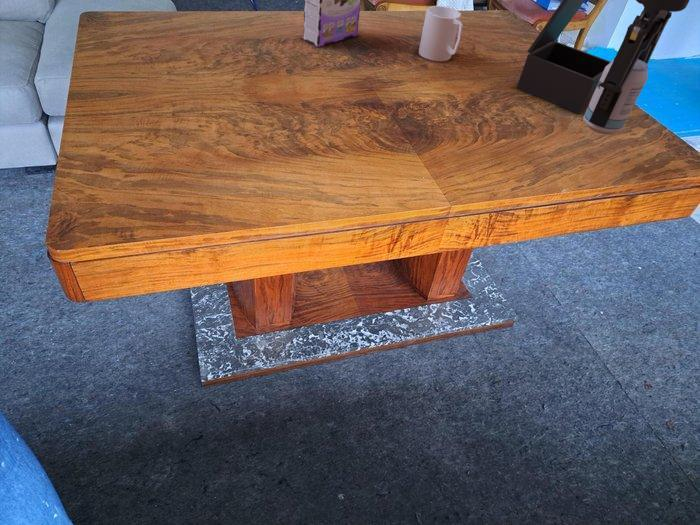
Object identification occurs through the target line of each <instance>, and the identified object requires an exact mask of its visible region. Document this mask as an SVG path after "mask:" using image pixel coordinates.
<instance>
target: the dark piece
mask: <svg viewBox="0 0 700 525" xmlns="http://www.w3.org/2000/svg"><path fill="white" fill-rule="evenodd" d="M610 62H612V60H611V61H610V60H608V59H605V58H602V57H601V56H597V55H594V54H591V53H589V52H586V51H583V50H581V49H577V48H575V47H572V46H570V45H567V44H564V43H561V42H559V41H557V40H555V41H553V42H551V43H549V44H547V45H545V46H543V47H542V48H540V49H538V50H536V51H534V52H532V53H529V54H527V56H526V59H525V62H524V65H523V68H522V71H521V73H520V77H519V80H518V82H517V85H516V89H518V90H520V91H523V92H525V93H528V94H529V95H532V96H535V97H537V98H539V99H542V100H544V101H546V102H548V103H551V104H554V105H555V106H557V107H560V108H562V109H564V110H567V111H570V112H571V113H575V114H577V115H581V114H582V113H584V111H586V110H587V108H588V105H589V103H590V101H591V99H592V96H593V94H594V92H595V89H596V87H597V85H598V83H599V80H600V78H601V76H602V74H603V71H604V69H605V67H606V66H607V65H608V64H609V63H610Z"/></svg>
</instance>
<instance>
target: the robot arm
mask: <svg viewBox="0 0 700 525" xmlns="http://www.w3.org/2000/svg"><path fill="white" fill-rule="evenodd" d="M635 1H636V2H637V3H638V4H641V5H642V6H643V9H642V11H641V13H640V15H636V17H635V18H634V19H633V21H632V23H630V24H629V25H628V27H627V29H626V32H625V35H624V37H623V40H622V42H621V44H620V46H619V48H618V51H617V53H616V55H615V57H614V58H615V59H614V58H613V59H614V61H613V60H612V61H613V63H612V65H611V67H610V69H609V72H608V74H607V76H606V78H605V80H604V82H603V83H602V82H601V83H600V86H601V87H603V88H604V89H603V92H602V94H601V96H600V98H599V101H598V103H597V105H596V107H595V109H594V112H593V114H592V116H591V118H590V121H589V122H590V123H593V124H595V125H598V126H600V127H603V128H604V127H605V126H606V124H607V122H608V120H609V117H610V115H611V113H612V111H613V109H614V107H615V105H616V103H617V101H618V99H619V97H620V95H621V92H622V91H621V89H622V87H623V85H624V83H625V81H626V79H627V78H628V76H629V74H630V72H631V70H632V69H633V67H634V65H635V63H636V61H637V60H638V59H639V60H641V61H643V62H645V63H646V64H647V65H648V63H649V62H650V59H651V57H652V55H653V53H654V51H655V49H656V48H657V47H656V46H657V45H658V42H659V40H660V38H661V36H662V34H663V32H664V30H665V28H666V26H667V24H668V22H669V20H670V19H671V18H672V14H673V13H677V12H681V11H682V12H683V11H684V10H685V9H686V8H687V7H688V4H689V3H690V0H635Z"/></svg>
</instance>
